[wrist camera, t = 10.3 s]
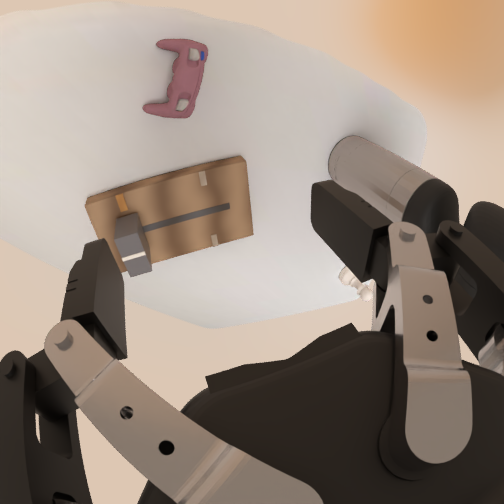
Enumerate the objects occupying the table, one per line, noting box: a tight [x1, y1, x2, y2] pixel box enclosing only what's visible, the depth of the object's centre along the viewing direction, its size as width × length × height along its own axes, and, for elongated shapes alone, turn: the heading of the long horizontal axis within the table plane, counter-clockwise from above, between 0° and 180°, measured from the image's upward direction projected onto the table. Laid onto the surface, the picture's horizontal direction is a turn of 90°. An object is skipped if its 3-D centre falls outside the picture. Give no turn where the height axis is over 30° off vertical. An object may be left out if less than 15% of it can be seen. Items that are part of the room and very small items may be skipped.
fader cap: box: [114, 213, 152, 277], centre depth 34 cm, size 3×6×5 cm, turn 5°
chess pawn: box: [339, 266, 373, 301], centre depth 59 cm, size 5×5×9 cm
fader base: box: [85, 156, 253, 273], centre depth 39 cm, size 22×12×3 cm, turn 95°
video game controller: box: [143, 39, 208, 118], centre depth 27 cm, size 10×5×7 cm, turn 165°
